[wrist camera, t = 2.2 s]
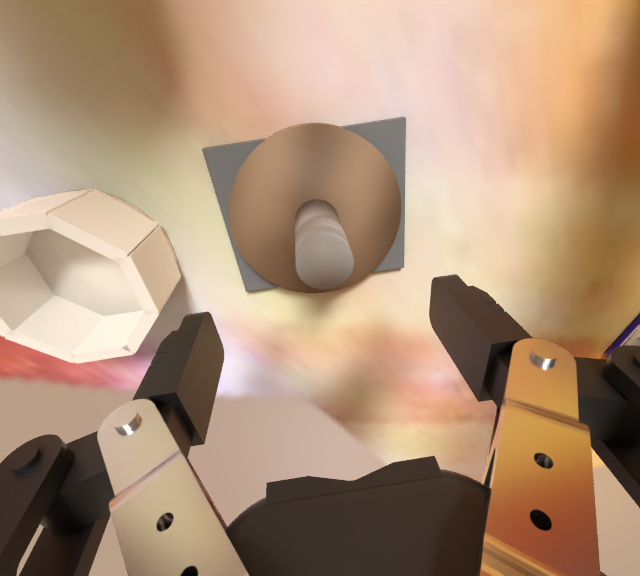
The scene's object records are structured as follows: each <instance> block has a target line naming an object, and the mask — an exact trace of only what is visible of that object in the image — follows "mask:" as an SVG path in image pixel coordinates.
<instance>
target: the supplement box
mask: <svg viewBox="0 0 640 576" xmlns="http://www.w3.org/2000/svg"><path fill="white" fill-rule="evenodd" d="M623 345H635V346H640V315H639V316H638V317H637V318H636V319H635V320H634V321H633V323H632V324H631V325H630V326H629V327H628V328H627V329H626V330H625V331H624V333H623V334H622V335H621V336H620V337H619V338H618V339H617V340H616V341H615V343H614V344H613V345H612V346H611V347H610V348H609V349H608V350H607V351H606V352H605V355H606V356H608V357H609V355H610V353H611V352H612V350H613V349H614V348H616V347H619V346H623Z"/></svg>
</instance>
